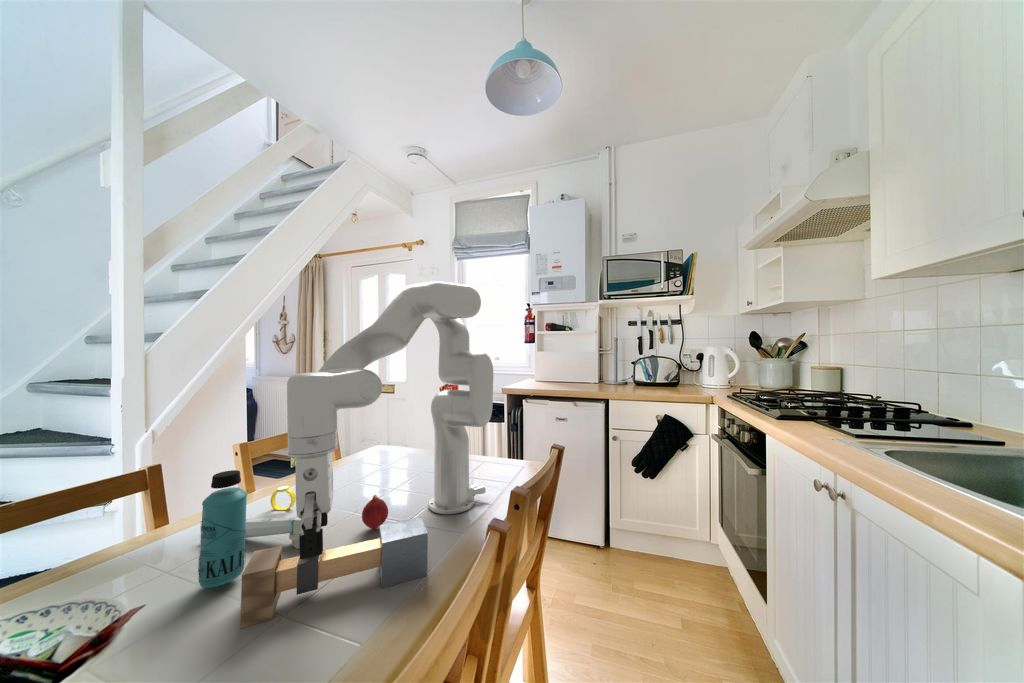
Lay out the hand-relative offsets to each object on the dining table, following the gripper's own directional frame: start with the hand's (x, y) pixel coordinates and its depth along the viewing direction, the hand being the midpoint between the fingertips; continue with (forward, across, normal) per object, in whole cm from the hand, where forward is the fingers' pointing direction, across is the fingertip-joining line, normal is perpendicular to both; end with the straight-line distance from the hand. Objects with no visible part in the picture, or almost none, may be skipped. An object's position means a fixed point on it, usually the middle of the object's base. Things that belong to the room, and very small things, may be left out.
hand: (314, 540), depth 58 cm
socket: (+9, -1, +8) cm, 11 cm away
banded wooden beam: (+7, -1, -2) cm, 7 cm away
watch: (+10, +40, +12) cm, 43 cm away
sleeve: (+9, -1, -14) cm, 17 cm away
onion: (+10, +18, -10) cm, 23 cm away
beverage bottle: (+9, +9, +16) cm, 20 cm away
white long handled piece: (+10, +24, +12) cm, 28 cm away
